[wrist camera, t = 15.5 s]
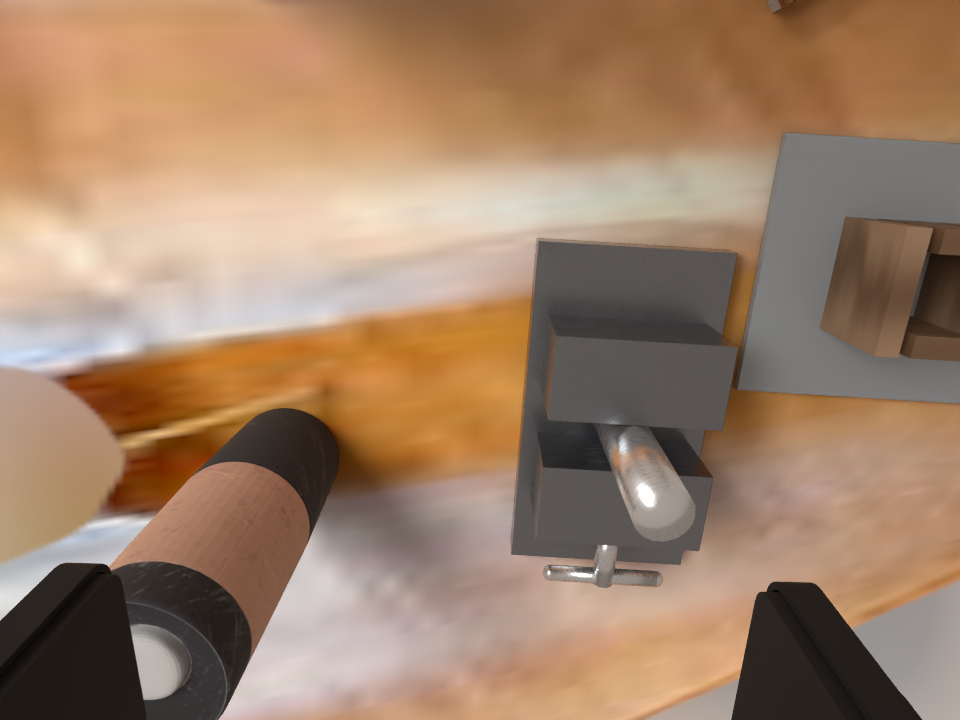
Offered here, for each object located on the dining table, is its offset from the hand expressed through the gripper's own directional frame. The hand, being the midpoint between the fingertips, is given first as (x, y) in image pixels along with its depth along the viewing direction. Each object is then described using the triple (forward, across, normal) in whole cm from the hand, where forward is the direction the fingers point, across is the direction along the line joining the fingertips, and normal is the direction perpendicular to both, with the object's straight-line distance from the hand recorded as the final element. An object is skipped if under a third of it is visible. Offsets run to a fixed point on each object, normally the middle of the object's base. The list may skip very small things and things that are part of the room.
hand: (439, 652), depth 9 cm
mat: (+32, -26, 0) cm, 41 cm away
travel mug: (+32, +13, +14) cm, 37 cm away
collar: (+31, -26, 0) cm, 41 cm away
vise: (+32, -10, +9) cm, 35 cm away
